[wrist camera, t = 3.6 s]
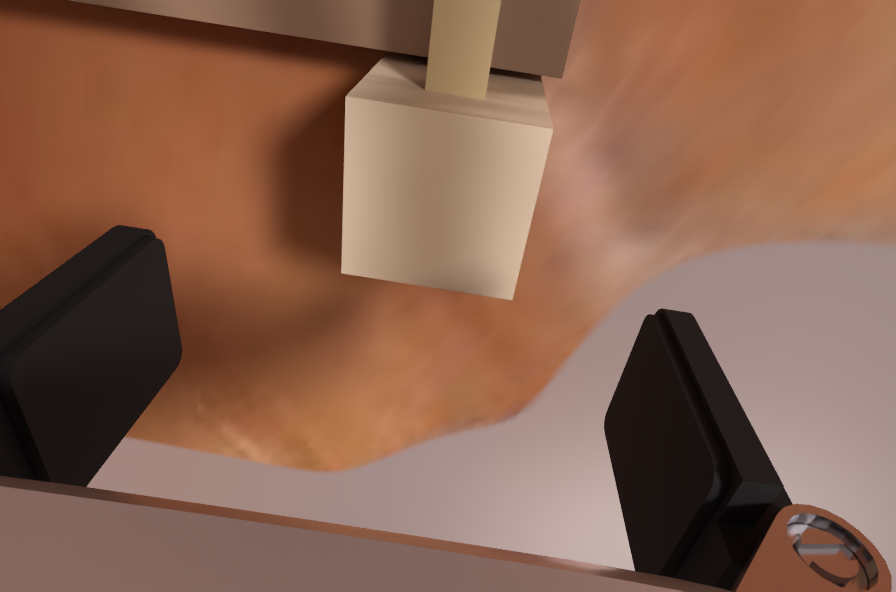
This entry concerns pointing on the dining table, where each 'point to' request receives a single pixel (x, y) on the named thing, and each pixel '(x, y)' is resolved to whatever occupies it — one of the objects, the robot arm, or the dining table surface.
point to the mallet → (444, 161)
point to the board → (387, 24)
